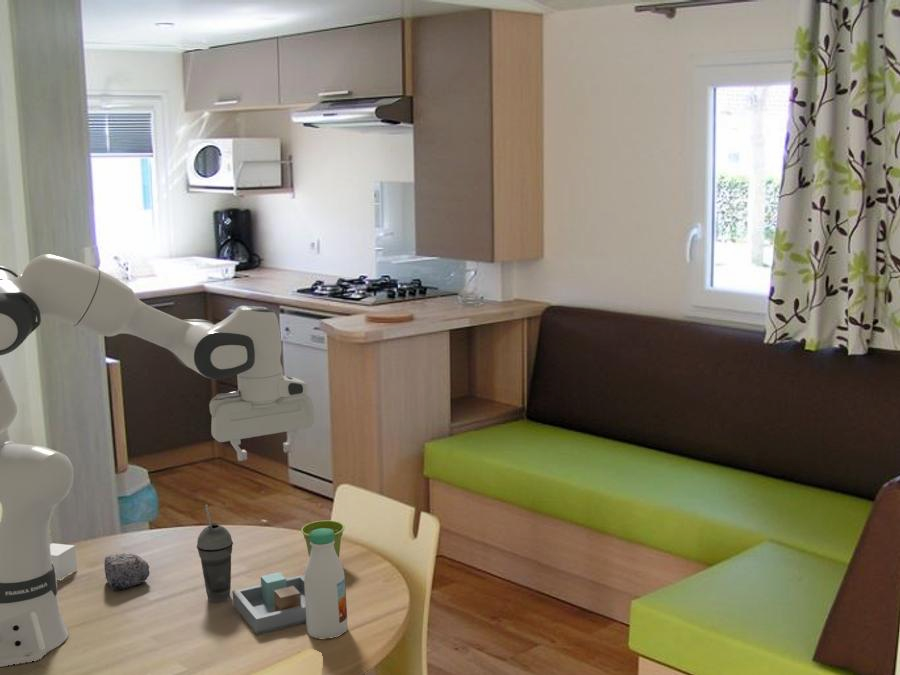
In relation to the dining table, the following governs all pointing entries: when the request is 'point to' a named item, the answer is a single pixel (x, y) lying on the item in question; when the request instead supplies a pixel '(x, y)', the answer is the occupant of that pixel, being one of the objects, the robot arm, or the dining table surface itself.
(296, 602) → the walnut block
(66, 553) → the white cube
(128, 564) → the pumice stone
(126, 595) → the dining table surface
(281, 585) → the teal block
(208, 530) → the beverage cup
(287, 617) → the tray
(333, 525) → the plant pot
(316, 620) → the milk bottle
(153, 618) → the dining table surface
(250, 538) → the dining table surface
